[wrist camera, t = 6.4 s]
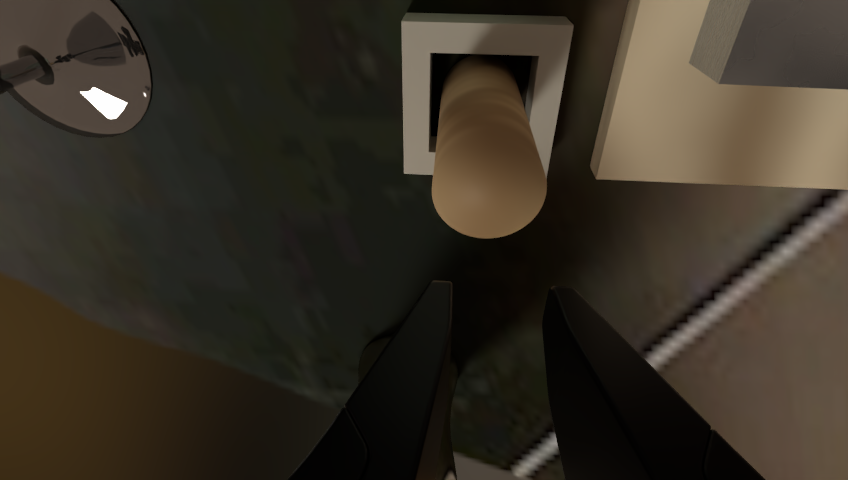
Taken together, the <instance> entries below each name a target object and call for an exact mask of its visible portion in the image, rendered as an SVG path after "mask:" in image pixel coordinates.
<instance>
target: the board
mask: <svg viewBox="0 0 848 480" xmlns="http://www.w3.org/2000/svg"><path fill="white" fill-rule="evenodd" d="M709 1H710V0H629V1H628V6H627V10H626V14H625V18H624V23H623V27H622V31H621V35H620V40H619V44H618V48H617V52H616V57H615V61H614V65H613V69H612V74H611V78H610V82H609V86H608V91H607V95H606V99H605V103H604V108H603V112H602V116H601V120H600V125H599V129H598V133H597V137H596V142H595V146H594V150H593V154H592V159H591V163H590V168H591V170H592V172H593V174H594V176H595V178H596V179H603V180H628V181H652V182H676V183H701V184H725V185H749V186H774V187H798V188H822V189H847V190H848V90H846V89H822V88H799V87H775V86H752V85H728V84H718V83H716V82H715V81H714V80H712V79H711V78H709V77H708V76H706V75H705V74H704V73H702V72H701V71H699V70H698V69H697V68H695V67H694V66H692V65H691V64H689V61H690V58H691V55H692V52H693V49H694V46H695V43H696V40H697V37H698V34H699V31H700V28H701V25H702V22H703V19H704V16H705V13H706V10H707V7H708V4H709Z"/></svg>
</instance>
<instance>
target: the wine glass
mask: <svg viewBox="0 0 848 480" xmlns="http://www.w3.org/2000/svg"><path fill="white" fill-rule="evenodd" d="M6 91H7V92H8V93H9V94H10V95H11V96H12V97H13V98H14V99H15V100H16V101H18V102H19V103H20V104H21V105H22V106H24V107H25V108H26V109H27V110H28V111H30V112H31V113H33V114H34V115H36V116H37V117H39V118H40V119H42V120H44V121H45V122H47V123H49V124H51V125H53V126H55V127H57V128H59V129H62V130H65V131H67V132H70V133H73V134H77V135H81V136H86V137H97V138H102V137H113V136H116V135H120V134H123V133H125V132H127V131H129V130H131V129H132V128H134V127H135V126H136V125H137V124H138V123H139V122H140V121H141V120H142V118H143V117H144V115H145V114H146V112H147V110H148V107H149V104H150V101H151V94H152V78H151V70H150V66H149V62H148V58H147V55H146V52H145V50H144V48H143V45H142V43H141V41H140V39H139V37H138V35H137V33H136V32H135V30H134V28H133V27H132V25H131V23H130V22H129V20H128V19H127V18H126V17H125V15H124V14H123V13H122V11H121V10H120V9H119V8H118V6H117V5H116V4H115V3H114V2H113V1H112V0H0V94H2V93H4V92H6Z"/></svg>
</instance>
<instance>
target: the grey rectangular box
mask: <svg viewBox="0 0 848 480" xmlns="http://www.w3.org/2000/svg"><path fill="white" fill-rule="evenodd" d="M689 64H691V65H692V66H694V67H695V68H697V69H698V70H699V71H701V72H702V73H704V74H705V75H706V76H708V77H709V78H711V79H712V80H714V81H715V82H716V83H718V84H728V85H752V86H775V87H799V88H822V89H846V90H848V0H710V1H709V4H708V7H707V10H706V13H705V16H704V19H703V22H702V25H701V28H700V31H699V34H698V37H697V40H696V43H695V46H694V49H693V52H692V55H691V58H690V61H689Z"/></svg>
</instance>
